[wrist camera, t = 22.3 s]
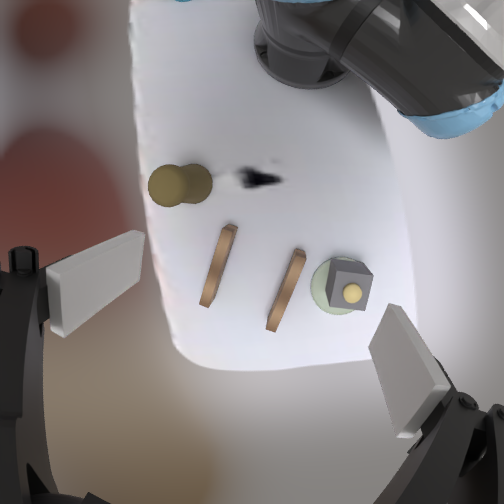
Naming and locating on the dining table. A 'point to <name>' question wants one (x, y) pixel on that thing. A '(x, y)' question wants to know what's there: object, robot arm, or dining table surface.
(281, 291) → the guide channel
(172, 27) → the dining table surface
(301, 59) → the robot arm
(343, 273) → the plug
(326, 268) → the saucer
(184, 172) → the cork
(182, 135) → the dining table surface
